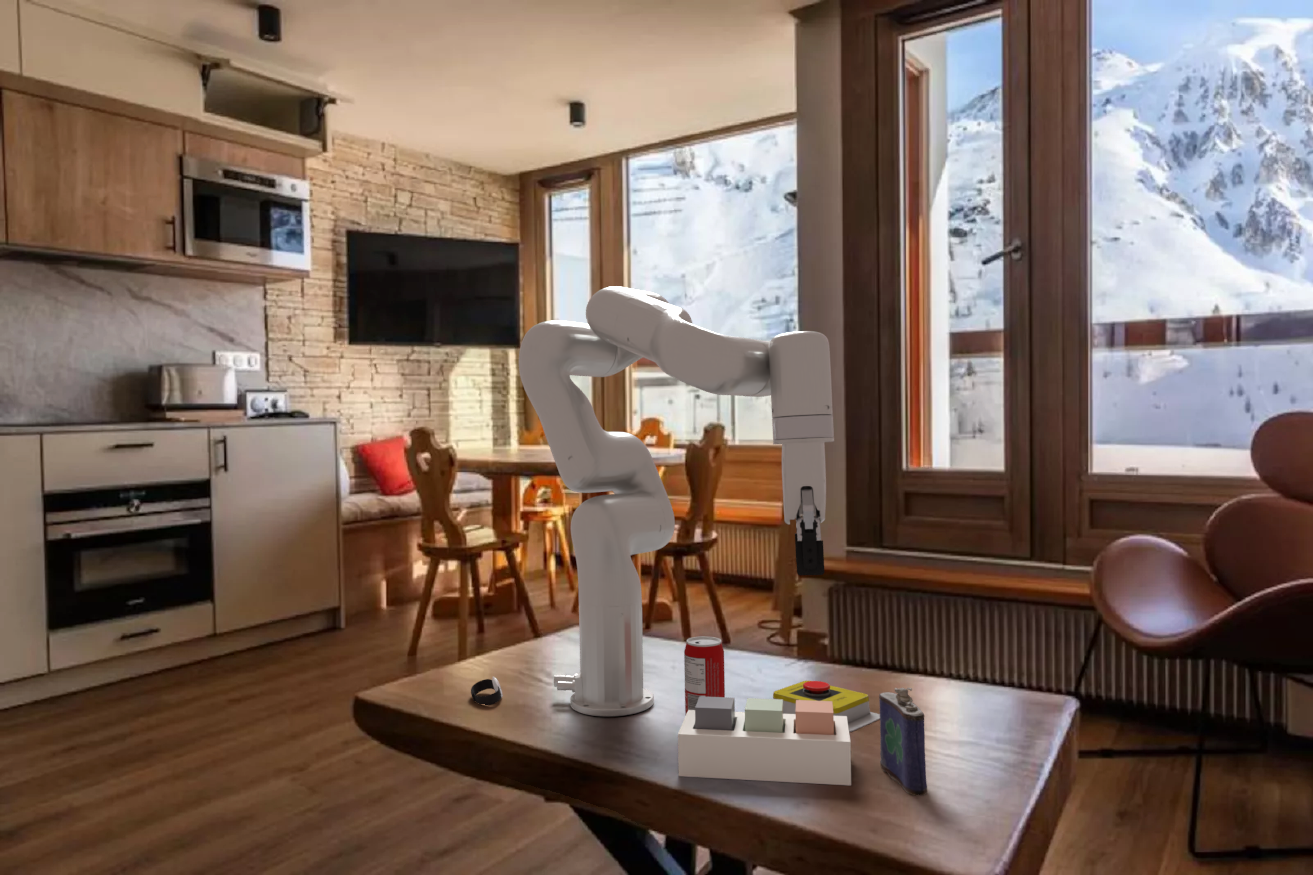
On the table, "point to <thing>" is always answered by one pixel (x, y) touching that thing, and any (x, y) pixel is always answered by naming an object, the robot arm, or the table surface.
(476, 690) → the watch
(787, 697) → the emergency button
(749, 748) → the key block
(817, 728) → the terracotta key
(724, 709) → the charcoal key
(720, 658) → the soda can
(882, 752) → the flask
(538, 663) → the table surface
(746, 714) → the sage key
